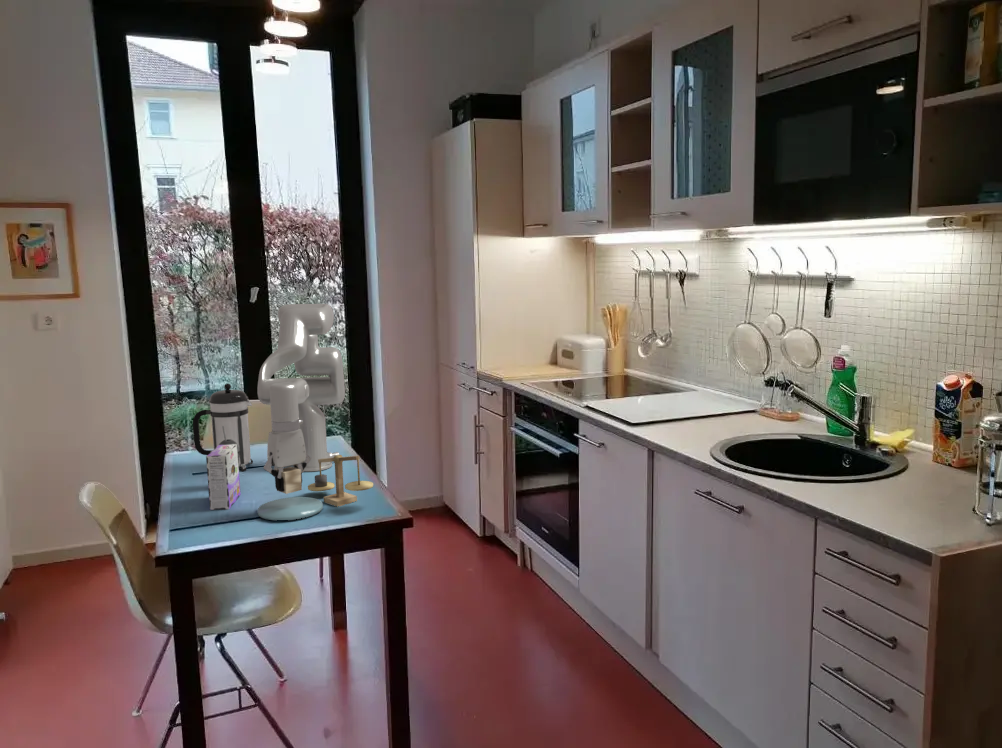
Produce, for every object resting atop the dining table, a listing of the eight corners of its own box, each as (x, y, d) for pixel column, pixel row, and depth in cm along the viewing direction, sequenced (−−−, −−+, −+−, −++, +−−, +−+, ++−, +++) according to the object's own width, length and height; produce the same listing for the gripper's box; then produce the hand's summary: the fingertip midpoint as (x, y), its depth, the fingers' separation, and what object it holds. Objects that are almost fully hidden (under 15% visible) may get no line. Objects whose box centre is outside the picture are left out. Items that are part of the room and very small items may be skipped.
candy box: (221, 496, 240) (218, 444, 238) (241, 495, 241) (237, 443, 238) (209, 510, 226) (204, 455, 224) (229, 509, 227) (225, 454, 224)
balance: (325, 489, 245) (322, 441, 242) (379, 507, 226) (377, 455, 223) (303, 495, 239) (300, 446, 236) (357, 514, 220) (354, 461, 218)
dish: (300, 498, 236) (300, 493, 236) (335, 510, 224) (335, 505, 224) (246, 513, 223) (245, 507, 223) (279, 527, 211) (279, 521, 211)
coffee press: (242, 459, 284) (236, 378, 280) (263, 467, 273) (257, 383, 268) (195, 469, 272) (188, 384, 268) (215, 477, 261) (208, 389, 256)
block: (292, 486, 226) (291, 466, 225) (301, 489, 222) (300, 469, 222) (276, 490, 222) (275, 470, 221) (286, 493, 219) (285, 473, 218)
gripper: (304, 419, 228) (307, 479, 231) (251, 429, 216) (255, 492, 219) (318, 423, 223) (322, 484, 226) (265, 433, 211) (269, 497, 214)
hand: (289, 487), depth 222 cm, fingers closed on block, 5 cm apart
